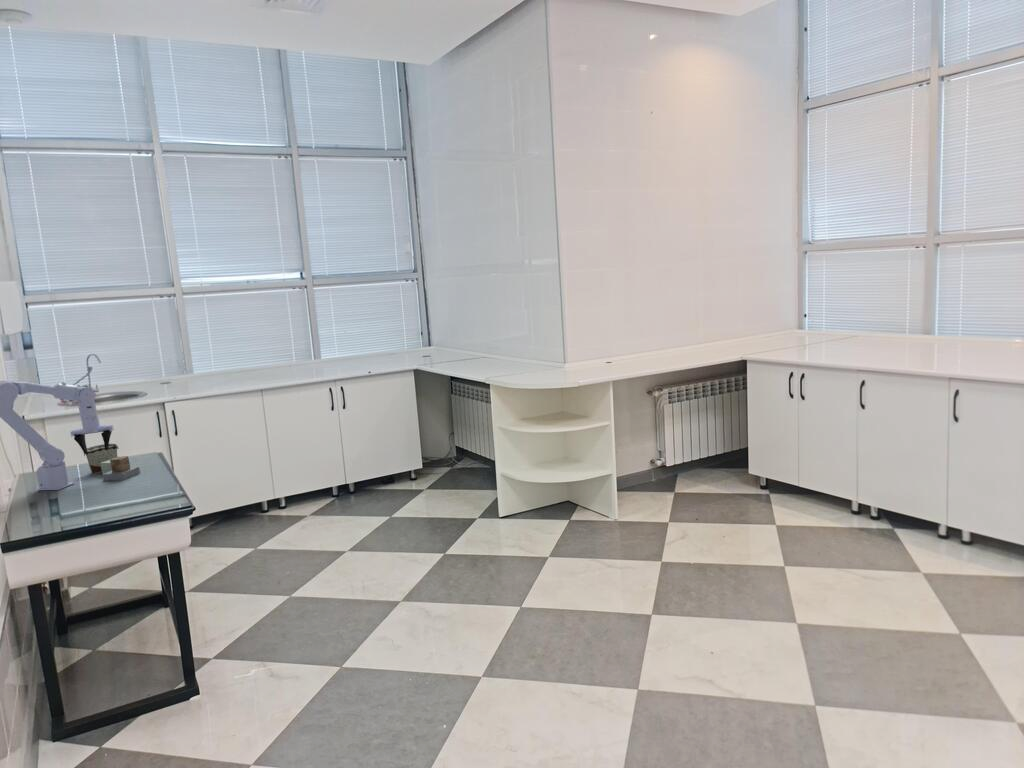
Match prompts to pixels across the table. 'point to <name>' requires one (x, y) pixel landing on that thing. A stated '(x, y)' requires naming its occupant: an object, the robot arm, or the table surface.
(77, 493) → the table surface
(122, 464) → the walnut block
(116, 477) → the base block
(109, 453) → the food container
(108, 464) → the sage block
